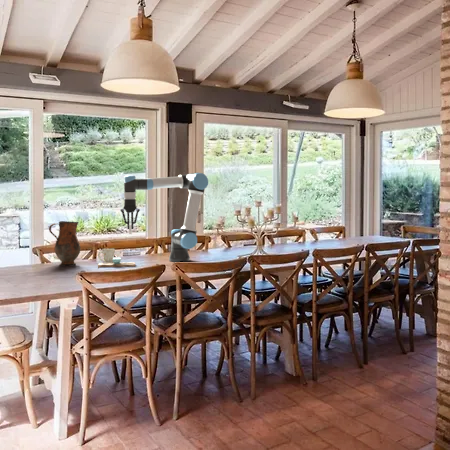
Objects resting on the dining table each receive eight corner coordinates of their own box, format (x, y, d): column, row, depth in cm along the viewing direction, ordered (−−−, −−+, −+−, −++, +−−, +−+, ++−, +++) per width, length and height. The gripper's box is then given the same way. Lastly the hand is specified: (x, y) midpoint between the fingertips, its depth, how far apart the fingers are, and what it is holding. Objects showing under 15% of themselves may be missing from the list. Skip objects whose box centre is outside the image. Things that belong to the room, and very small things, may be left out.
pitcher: (85, 264, 348) (84, 221, 345) (55, 268, 333) (54, 223, 331) (73, 262, 360) (72, 220, 357) (44, 265, 345) (43, 221, 342)
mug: (111, 264, 351) (111, 250, 350) (95, 263, 353) (94, 249, 352) (116, 262, 359) (116, 248, 358) (100, 262, 361) (100, 248, 360)
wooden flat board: (135, 265, 344) (135, 262, 344) (134, 268, 336) (134, 264, 336) (99, 266, 341) (99, 262, 341) (97, 268, 332) (97, 264, 332)
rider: (120, 265, 342) (120, 257, 341) (120, 266, 336) (120, 259, 335) (113, 265, 341) (113, 257, 340) (112, 266, 335) (112, 259, 335)
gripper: (140, 198, 341) (140, 233, 343) (120, 198, 339) (120, 233, 341) (139, 198, 333) (140, 234, 335) (119, 198, 331) (120, 234, 333)
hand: (130, 234), depth 338 cm, fingers closed
